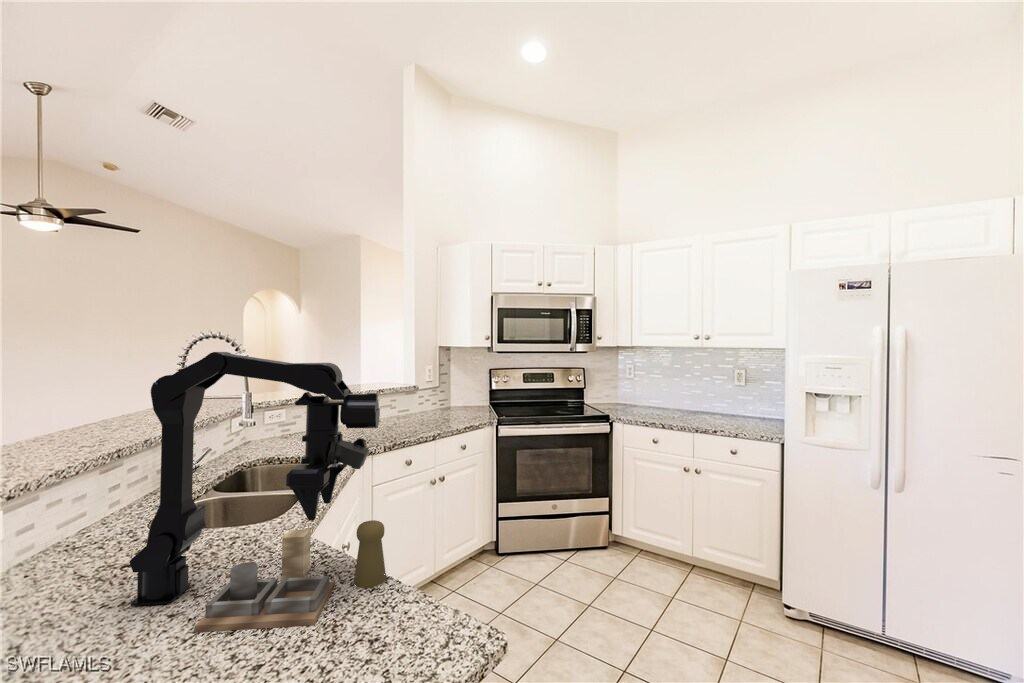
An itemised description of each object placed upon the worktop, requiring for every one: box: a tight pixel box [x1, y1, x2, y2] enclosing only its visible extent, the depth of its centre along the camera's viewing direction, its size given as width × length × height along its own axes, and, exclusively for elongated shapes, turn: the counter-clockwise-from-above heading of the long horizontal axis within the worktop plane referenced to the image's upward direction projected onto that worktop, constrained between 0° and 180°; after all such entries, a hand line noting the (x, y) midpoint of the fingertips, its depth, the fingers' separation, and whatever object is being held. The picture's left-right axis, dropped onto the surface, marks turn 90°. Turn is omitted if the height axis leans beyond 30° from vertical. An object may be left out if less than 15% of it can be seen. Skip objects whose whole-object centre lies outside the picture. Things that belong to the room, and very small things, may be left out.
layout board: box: [194, 561, 336, 633], centre depth 78 cm, size 18×12×7 cm, turn 97°
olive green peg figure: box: [353, 520, 387, 589], centre depth 88 cm, size 6×6×11 cm
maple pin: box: [281, 528, 312, 581], centre depth 90 cm, size 4×4×8 cm
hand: (319, 511), depth 86 cm, fingers open, 9 cm apart
